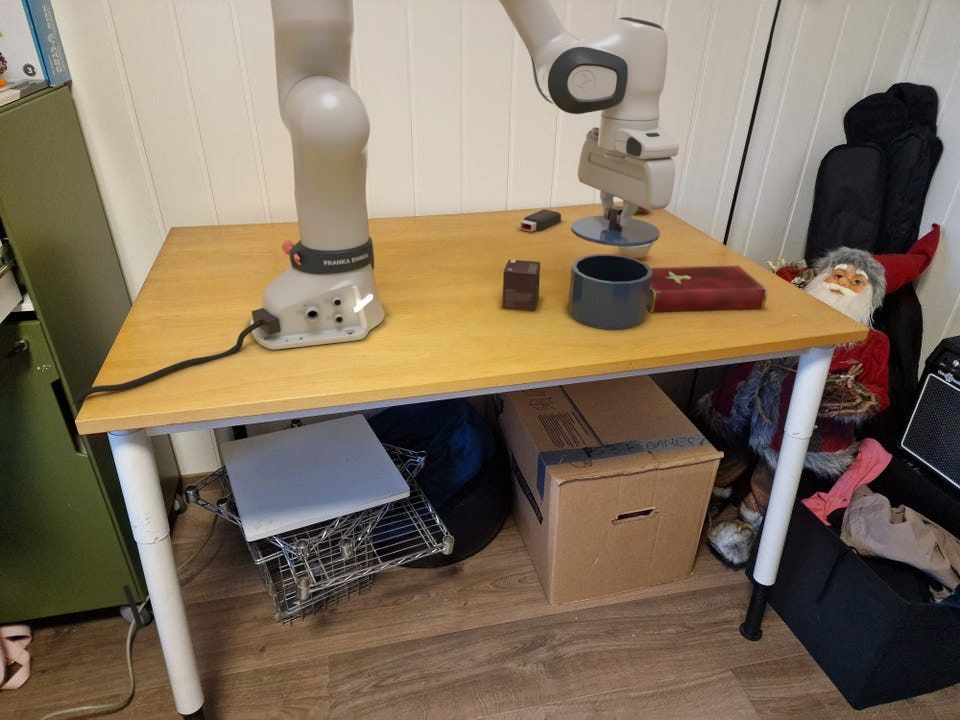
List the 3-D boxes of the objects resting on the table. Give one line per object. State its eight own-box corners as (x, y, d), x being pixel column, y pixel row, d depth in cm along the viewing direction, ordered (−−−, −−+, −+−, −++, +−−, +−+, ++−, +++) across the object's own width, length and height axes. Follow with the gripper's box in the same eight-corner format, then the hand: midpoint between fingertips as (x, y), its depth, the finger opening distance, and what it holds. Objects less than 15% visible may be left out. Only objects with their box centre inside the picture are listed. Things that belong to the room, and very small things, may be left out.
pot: (597, 336, 108) (603, 288, 104) (554, 305, 118) (557, 261, 114) (661, 320, 113) (669, 275, 109) (614, 292, 124) (619, 249, 120)
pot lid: (604, 255, 100) (608, 225, 98) (554, 227, 111) (556, 200, 109) (677, 243, 106) (682, 214, 104) (622, 218, 117) (626, 192, 115)
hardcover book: (763, 309, 117) (769, 288, 115) (651, 313, 116) (654, 291, 114) (735, 284, 128) (739, 264, 126) (631, 286, 126) (634, 266, 124)
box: (534, 312, 116) (537, 273, 112) (501, 308, 117) (502, 270, 113) (539, 298, 121) (541, 261, 117) (507, 295, 122) (508, 258, 118)
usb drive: (560, 221, 162) (561, 210, 160) (534, 233, 153) (535, 222, 152) (543, 217, 164) (543, 207, 163) (516, 229, 156) (517, 218, 155)
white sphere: (628, 266, 136) (632, 232, 132) (608, 254, 142) (612, 222, 138) (667, 260, 139) (672, 226, 136) (646, 248, 145) (651, 216, 141)
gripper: (573, 125, 108) (565, 207, 114) (653, 149, 92) (639, 243, 98) (604, 123, 110) (595, 204, 117) (687, 146, 94) (671, 238, 101)
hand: (615, 222), depth 108 cm, fingers closed on pot lid, 2 cm apart
